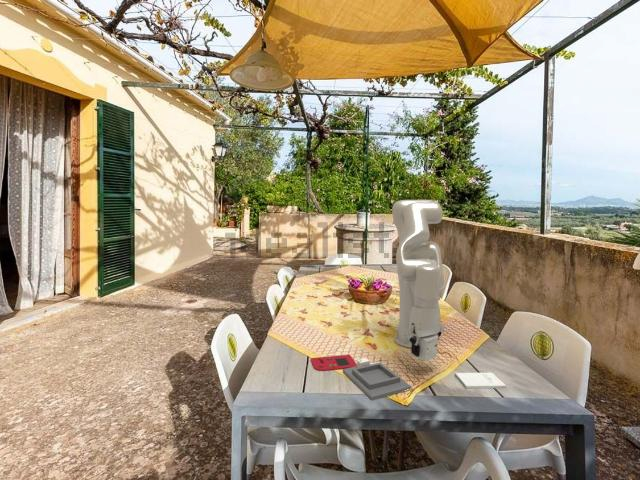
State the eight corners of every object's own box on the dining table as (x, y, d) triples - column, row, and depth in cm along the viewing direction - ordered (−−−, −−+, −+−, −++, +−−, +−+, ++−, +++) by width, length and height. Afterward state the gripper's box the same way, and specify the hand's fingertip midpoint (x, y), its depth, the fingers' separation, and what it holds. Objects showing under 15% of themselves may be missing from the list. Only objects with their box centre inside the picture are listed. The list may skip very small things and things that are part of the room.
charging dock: (342, 372, 114) (342, 362, 114) (378, 364, 120) (378, 354, 120) (372, 400, 98) (372, 388, 98) (411, 389, 104) (411, 378, 103)
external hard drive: (454, 377, 113) (491, 376, 113) (465, 390, 104) (505, 389, 105) (454, 372, 112) (491, 371, 113) (466, 385, 104) (505, 384, 105)
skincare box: (425, 362, 111) (426, 340, 110) (410, 355, 116) (411, 334, 115) (437, 356, 115) (438, 336, 113) (422, 350, 119) (423, 330, 118)
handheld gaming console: (310, 357, 124) (350, 353, 127) (310, 360, 124) (350, 357, 127) (315, 369, 115) (358, 365, 118) (315, 373, 115) (358, 369, 118)
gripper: (438, 295, 119) (436, 343, 122) (397, 301, 112) (396, 352, 115) (455, 301, 113) (451, 352, 115) (412, 309, 106) (410, 363, 108)
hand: (424, 352), depth 115 cm, fingers closed on skincare box, 6 cm apart
